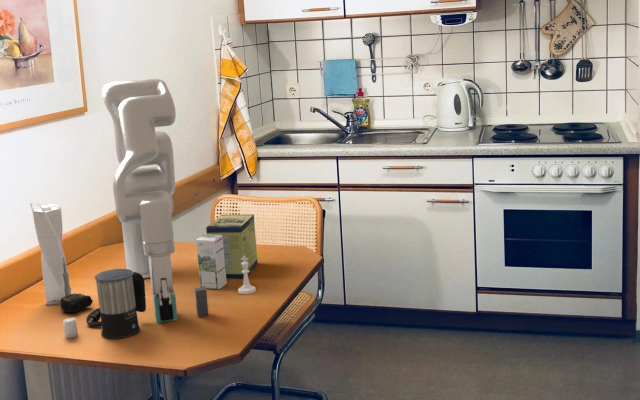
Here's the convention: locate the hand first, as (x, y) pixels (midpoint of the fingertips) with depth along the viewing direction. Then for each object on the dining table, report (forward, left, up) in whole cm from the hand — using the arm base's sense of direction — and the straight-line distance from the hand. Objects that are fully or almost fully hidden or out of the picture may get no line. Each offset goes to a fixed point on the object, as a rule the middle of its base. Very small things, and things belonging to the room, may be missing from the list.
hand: (165, 315), depth 206 cm
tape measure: (-16, -22, -1) cm, 27 cm away
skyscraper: (-27, -27, -1) cm, 38 cm away
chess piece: (-12, +23, -1) cm, 26 cm away
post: (+2, +9, -1) cm, 9 cm away
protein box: (-32, +23, -1) cm, 39 cm away
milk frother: (+2, -13, -1) cm, 14 cm away
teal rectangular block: (0, 0, -1) cm, 1 cm away
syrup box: (-20, +15, -1) cm, 25 cm away
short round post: (+3, -23, -1) cm, 23 cm away
